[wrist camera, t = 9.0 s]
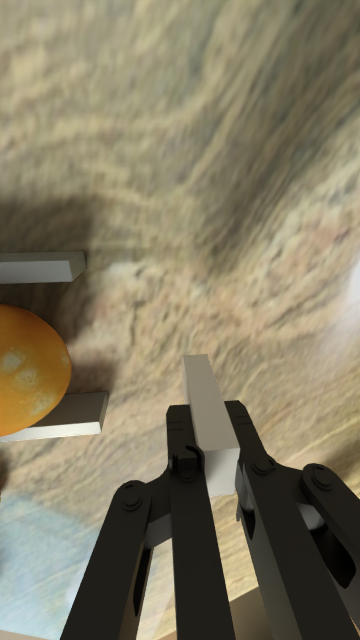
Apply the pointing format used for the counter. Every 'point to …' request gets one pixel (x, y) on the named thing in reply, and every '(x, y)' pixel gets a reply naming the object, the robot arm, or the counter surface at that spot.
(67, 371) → the fruit
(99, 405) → the flagpole corner frame
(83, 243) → the counter surface
